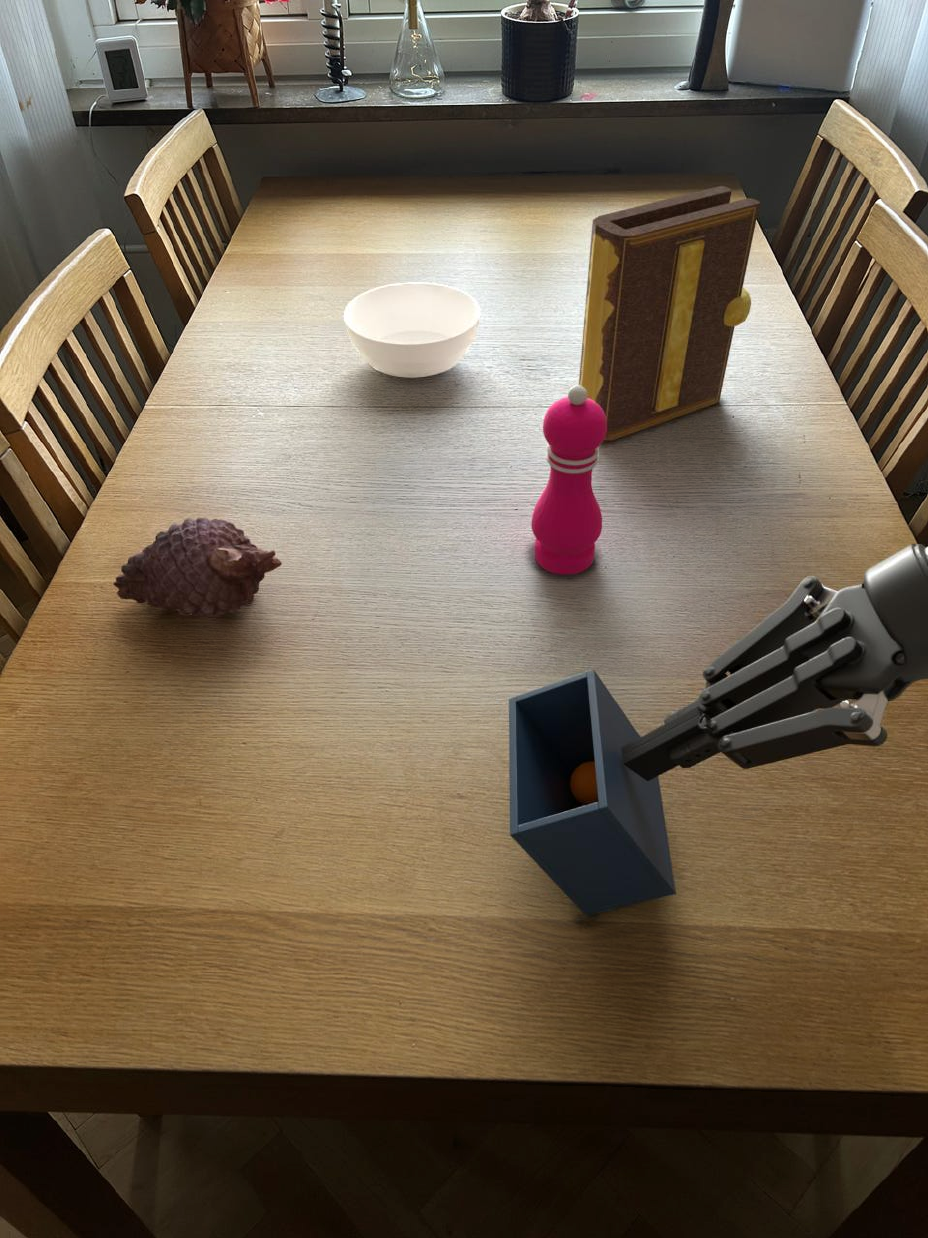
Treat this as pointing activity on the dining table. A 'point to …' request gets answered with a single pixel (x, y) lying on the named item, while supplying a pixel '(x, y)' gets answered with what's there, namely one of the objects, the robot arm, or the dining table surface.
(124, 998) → the dining table surface
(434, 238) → the dining table surface
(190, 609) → the pine cone
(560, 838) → the gray box
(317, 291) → the dining table surface
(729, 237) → the book
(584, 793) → the orange ball
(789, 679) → the robot arm
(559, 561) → the pepper mill
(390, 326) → the bowl
